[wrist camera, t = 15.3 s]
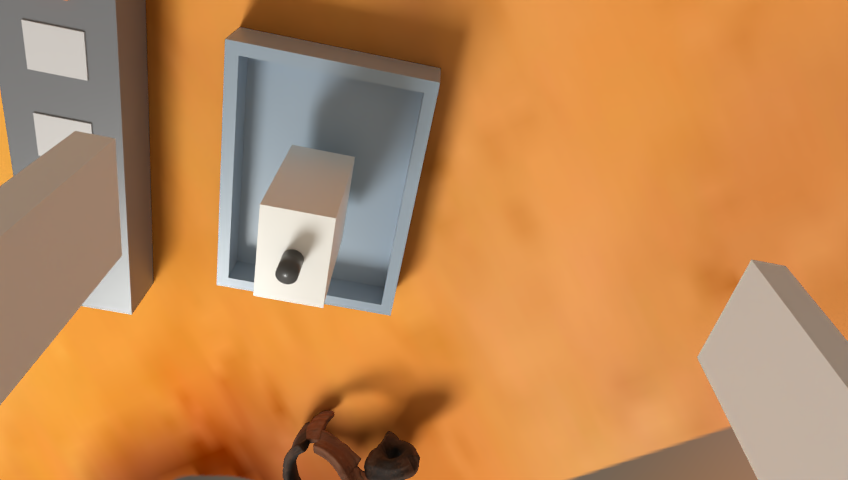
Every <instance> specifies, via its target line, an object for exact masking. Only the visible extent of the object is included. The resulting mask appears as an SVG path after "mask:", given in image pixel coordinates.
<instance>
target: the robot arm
mask: <svg viewBox="0 0 848 480" xmlns="http://www.w3.org/2000/svg"><path fill="white" fill-rule="evenodd" d="M121 256H122V246H121V228H120V211H119V194H118V177H117V160H116V142H115V138H110V137H105V136H100V135H94V134H89V133H84V132H79V131H74V132H73V133H72V134H70V135H69V136H68V137H66V138H65V139H63V140H62V141H61V142H59V143H58V144H57V145H55V146H54V147H53V148H51V149H50V150H49V151H47V152H46V153H45V154H43V155H42V156H40V157H39V158H38V159H36V160H35V161H34V162H32V163H31V164H30V165H28V166H27V167H26V168H24V169H23V170H22V171H20V172H19V173H17V174H16V175H15V176H13V177H12V178H11V179H9V180H8V181H7V182H5V183H4V184H3V185H1V186H0V405H1V403H2V402H3V401H4V400H5V399H6V397H7V396H8V395H9V394H10V392H11V391H12V390H13V389H14V387H15V386H16V385H17V384H18V383H19V381H20V380H21V379H22V378H23V376H24V375H25V374H26V373H27V372H28V370H29V369H30V368H31V367H32V365H33V364H34V363H35V362H36V360H37V359H38V358H39V357H40V356H41V354H42V353H43V352H44V351H45V349H46V348H47V347H48V346H49V345H50V343H51V342H52V341H53V340H54V338H55V337H56V336H57V335H58V333H59V332H60V331H61V330H62V329H63V327H64V326H65V325H66V324H67V322H68V321H69V320H70V319H71V317H72V316H73V315H74V314H75V313H76V311H77V310H78V309H79V308H80V306H81V305H82V304H83V303H84V302H85V300H86V299H87V298H88V297H89V295H90V294H91V293H92V292H93V290H94V289H95V288H96V287H97V286H98V284H99V283H100V282H101V281H102V279H103V278H104V277H105V276H106V274H107V273H108V272H109V271H110V270H111V268H112V267H113V266H114V265H115V263H116V262H117V261H118V260H119V259H120V257H121ZM697 358H698V360H699V362H700V364H701V366H702V368H703V370H704V372H705V374H706V376H707V378H708V380H709V382H710V384H711V386H712V388H713V390H714V392H715V394H716V396H717V398H718V400H719V402H720V404H721V406H722V408H723V410H724V412H725V414H726V416H727V418H728V420H729V422H730V424H731V426H732V428H733V431H734V433H735V435H736V436H737V439H738V441H739V442H740V445H741V446H742V449H743V451H744V453H745V455H746V457H747V459H748V461H749V463H750V465H751V467H752V469H753V471H754V473H755V475H756V477H757V479H758V480H848V341H847V340H846V339H845V338H844V336H843V335H842V334H841V333H840V332H839V330H838V329H837V328H836V327H835V326H834V324H833V323H832V322H831V321H830V319H829V318H828V317H827V316H826V315H825V313H824V312H823V311H822V310H821V308H820V307H819V306H818V305H817V304H816V302H815V301H814V300H813V299H812V298H811V296H810V295H809V294H808V293H807V291H806V290H805V289H804V288H803V287H802V285H801V284H800V283H799V282H798V281H797V279H796V278H795V277H794V276H793V274H792V273H791V272H790V271H789V270H788V268H787V267H786V266H782V265H777V264H772V263H767V262H761V261H756V260H751V261H750V263H749V265H748V267H747V268H746V270H745V272H744V274H743V276H742V277H741V279H740V281H739V283H738V285H737V286H736V288H735V290H734V292H733V294H732V296H731V297H730V299H729V301H728V303H727V305H726V306H725V308H724V310H723V312H722V314H721V315H720V317H719V319H718V321H717V323H716V324H715V326H714V328H713V330H712V332H711V333H710V335H709V337H708V339H707V341H706V343H705V344H704V346H703V348H702V350H701V352H700V353H699V355H698V357H697Z"/></svg>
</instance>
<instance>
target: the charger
mask: <svg viewBox="0 0 848 480" xmlns="http://www.w3.org/2000/svg"><path fill="white" fill-rule="evenodd" d="M354 160H355V157H353V156H348V155H343V154H337V153H332V152H327V151H322V150H317V149H312V148H307V147H301V146H296V145H292V146H291V147H290V149H289V151H288V153H287V155H286V157H285V159H284V160H283V162H282V164H281V166H280V168H279V170H278V172H277V173H276V175H275V177H274V179H273V181H272V183H271V185H270V186H269V188H268V190H267V192H266V194H265V196H264V198H263V199H262V201H261V203H260V209H259V223H258V237H257V251H256V265H255V278H254V292H253V296H258V297H264V298H269V299H275V300H281V301H286V302H292V303H298V304H303V305H309V306H315V307H321V308H323V306H324V303H325V299H326V296H327V292H328V288H329V285H330V281H331V277H332V274H333V270H334V267H335V263H336V259H337V256H338V252H339V248H340V245H341V241H342V237H343V232H344V225H345V219H346V212H347V206H348V199H349V193H350V186H351V179H352V173H353V166H354Z"/></svg>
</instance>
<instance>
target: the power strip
mask: <svg viewBox="0 0 848 480" xmlns="http://www.w3.org/2000/svg"><path fill="white" fill-rule="evenodd" d="M0 90H1V96H2V103H3V109H4V116H5V123H6V129H7V136H8V142H9V149H10V156H11V162H12V169H13V176H15V175H16V174H17V173H19V172H20V171H22V170H23V169H24V168H26V167H27V166H28V165H30V164H31V163H32V162H34V161H35V160H36V159H38V158H39V157H40V156H42V155H43V154H45V153H46V152H47V151H49V150H50V149H51V148H53V147H54V146H55V145H57V144H58V143H59V142H61V141H62V140H63V139H65V138H66V137H68V136H69V135H70V134H72V133H73V132H74V131H79V132H84V133H89V134H94V135H100V136H105V137H110V138H115V142H116V160H117V177H118V194H119V211H120V228H121V246H122V256H121V257H120V259H119V260H118V261H117V262H116V263H115V265H114V266H113V267H112V268H111V270H110V271H109V272H108V273H107V274H106V276H105V277H104V278H103V279H102V281H101V282H100V283H99V284H98V286H97V287H96V288H95V289H94V290H93V292H92V293H91V294H90V295H89V297H88V298H87V299H86V300H85V302H84V303H83V304H82V305H81V306H84V307H90V308H96V309H102V310H108V311H114V312H120V313H125V314H131V315H132V313H133V312H134V310H135V309H136V308H137V306H138V305H139V303H140V302H141V300H142V299H143V297H144V296H145V294H146V293H147V292H148V290H149V289H150V287H151V286H152V284H153V283H154V280H153V245H152V210H151V175H150V139H149V104H148V69H147V33H146V0H0Z"/></svg>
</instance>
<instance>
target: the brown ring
mask: <svg viewBox="0 0 848 480" xmlns="http://www.w3.org/2000/svg"><path fill="white" fill-rule="evenodd" d="M333 417H334V412H333V411H322V412H320V413H319V414H318V415H317V416H315V417H314V418H313V420H312V421H311V422H307V423H306V424H305V425H304V426H303V427H302V429H301V430H300V432H299V433H298V435H297V436H296V438H295V440H294V442H293V445H292V448H291V449H290V450H289V452H288V453H287V454H286V456H285V458H284V463H283V467H284V468H283V479H284V480H301V478H300V477H299V474H298V470H297V465H296V459H297V457H298V455H299V454H301V453H303V452H305V451H306V450H307V448H308V446H309V444H310V443H315V444H314V445H313V447H314V453H316V454H318V455H320V456H321V457H323V458H325V459H326V460H328V461H329V462H330V464H331V465H332V466H333V467H334V468H335V470H336V471H337V473H338V475H339V476H340V478H341V479H342V480H405V479H408V478H410V477H412V476H413V475H415V474H416V472H417V471H418V467H419V460H420V457H419V455H418V453H417V451H416V449H415V448H414V446H413V445H411V444H410V443H408V442H405V441H401V440H399V438H398V437H397V436H396V435H395V434H394V433H392V432H390V431H388V432H387V433H386V435H385V437H384V439H383V441H382V442H381V443H380V444H379V445H378V446H377V448H375V449H373V450H372V451H371V452H370V454H369V456H368V457H367V459H366V461H365V465H364V469H365V471H362V470H361V469H360V468H359V467H358V466H357V465H358V463H359V462H360V460H361V458H360V457H359V456H358V455H357V454H356V453H355V452H353V451H352V450H351V449H350V448H349V447H348V446H347V445H346V444H344V443H342V442H341V441H340V440H339V439H338V438H336V437H335V436H334V435H332V434H331V433H329V432H327V431H325V428H326V425H327V423H328V422H329V421H330V420H331V419H332V418H333Z"/></svg>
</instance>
